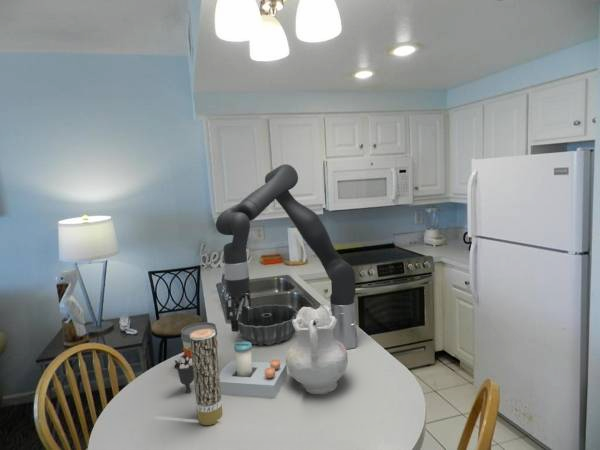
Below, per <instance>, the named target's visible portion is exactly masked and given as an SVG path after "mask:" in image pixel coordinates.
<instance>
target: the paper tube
mask: <svg viewBox="0 0 600 450" xmlns="http://www.w3.org/2000/svg"><path fill="white" fill-rule="evenodd" d="M216 339H217V336H216V334H215V330H213V329H200V330H196V331H194V332H192V333H191V334H190V343H191V353H192V364H193V374H194V380H193V383H194V393H195V402H196V404H195V405H196V413H197V414H196V415H197V421H198V423H199V424H201V425H203V426H211V425H214V424H215V425H216V424H217V423H218V422H219V420H220V419H221V418H222V417H223V403H222V394H221V390H220V379H219V373H220V371H219V370H220V369H219V358H218V344H217V345H216Z"/></svg>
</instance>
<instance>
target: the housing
mask: <svg viewBox="0 0 600 450" xmlns="http://www.w3.org/2000/svg"><path fill="white" fill-rule="evenodd" d="M266 368H270V362H264V361H263V362H262V361H259V362H258V361H252V370H253V375H252V376H251V377H237V369H236V360H229V362H228V363H227V364H226V365H225V366H224V367H223V369H221V371H219V379H220V390H221V395H225V396H237V397H238V396H239V397H250V398H251V397H253V398H264V399H265V398H267V399H276V397H277V395H278V393H279V391H280V390H281V388H282V386H283V384H284V382H285V381H286V378H287V377H288V367H287V364H286V363H281V362H280V368H278V369H277V371H275V376H274V377H272V379H269V378H268V377H265V371H264V370H265V369H266Z"/></svg>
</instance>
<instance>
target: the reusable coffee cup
mask: <svg viewBox="0 0 600 450" xmlns="http://www.w3.org/2000/svg"><path fill="white" fill-rule="evenodd" d="M200 329H213V330H215V334H216V337H217V336H218V329H217V326H216V324H215V323H213V322H209V321H208V322H207V321H206V322H205V321H204V322H203V321H202V322H196V323H191V324H189V325H186V326H185V327H183V328H181V330H180V331H181V332H180V333H181V334H180V335H181V337H180V338H181V339H180V340H181V341H182V344H183V345H182V349H183V350H182V351H183V354H184V353H186V352H187V351H188V352H187V355H189V350H190V355H192V353H191V349H189V348H191V343H190V334H191V333H192V332H194V331H196V330H200ZM216 345H217V346H218V340H217V338H216ZM188 349H189V350H188Z"/></svg>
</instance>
